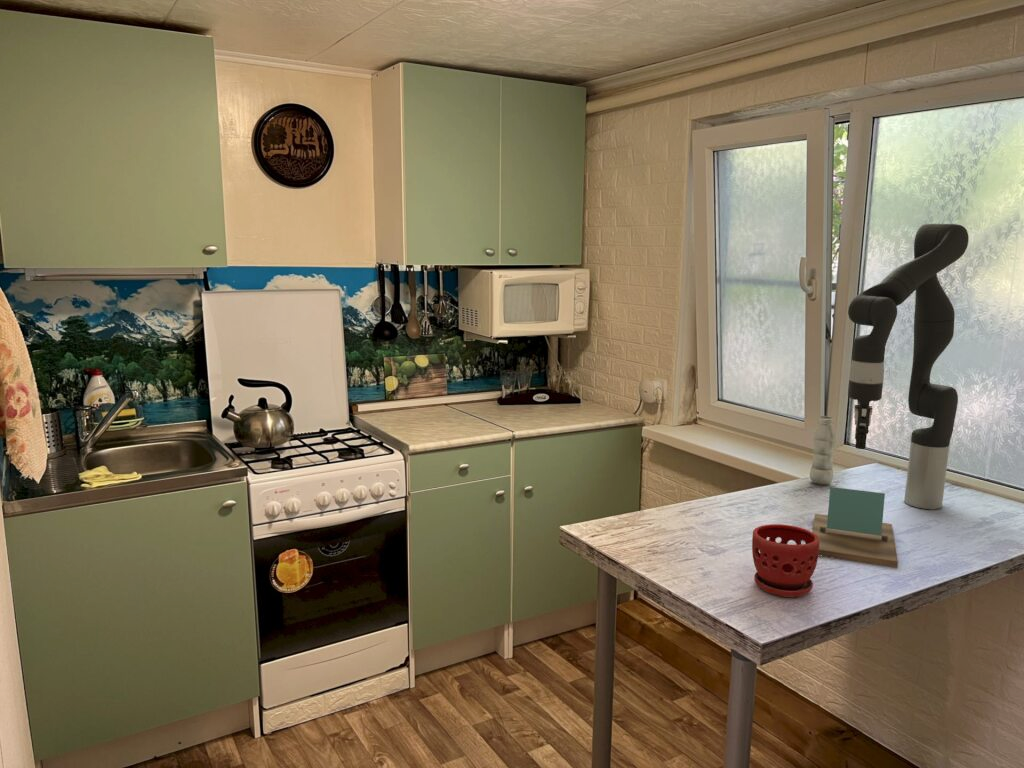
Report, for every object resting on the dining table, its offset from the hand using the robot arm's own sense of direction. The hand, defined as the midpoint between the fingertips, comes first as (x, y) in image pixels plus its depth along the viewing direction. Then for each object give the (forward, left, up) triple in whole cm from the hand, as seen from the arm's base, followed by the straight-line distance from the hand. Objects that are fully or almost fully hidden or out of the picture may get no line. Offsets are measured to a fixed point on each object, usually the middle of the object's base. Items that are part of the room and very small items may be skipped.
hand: (859, 444), depth 191 cm
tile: (+7, 0, -15) cm, 16 cm away
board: (+9, 0, -22) cm, 24 cm away
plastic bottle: (-34, -8, -22) cm, 42 cm away
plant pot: (+41, -14, -22) cm, 49 cm away
